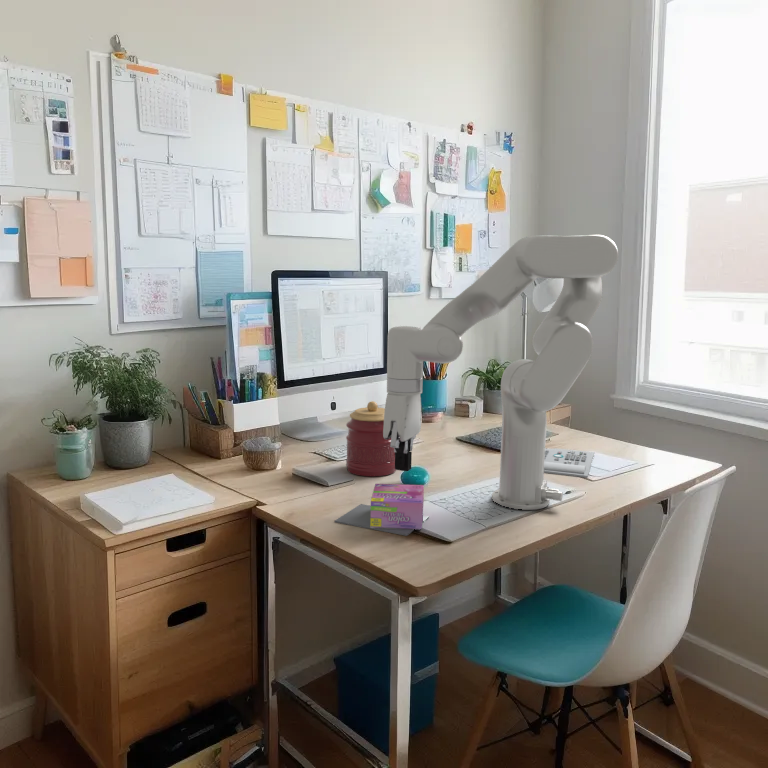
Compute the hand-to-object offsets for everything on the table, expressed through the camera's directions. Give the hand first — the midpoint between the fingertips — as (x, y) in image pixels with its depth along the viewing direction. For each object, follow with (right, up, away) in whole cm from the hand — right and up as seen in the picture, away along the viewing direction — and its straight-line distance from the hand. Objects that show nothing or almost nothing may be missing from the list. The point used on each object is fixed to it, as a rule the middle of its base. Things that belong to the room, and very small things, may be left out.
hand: (402, 469), depth 156 cm
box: (-1, -5, -2) cm, 6 cm away
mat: (-4, -9, -7) cm, 13 cm away
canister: (-7, -4, +28) cm, 29 cm away
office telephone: (+41, -3, +38) cm, 56 cm away
